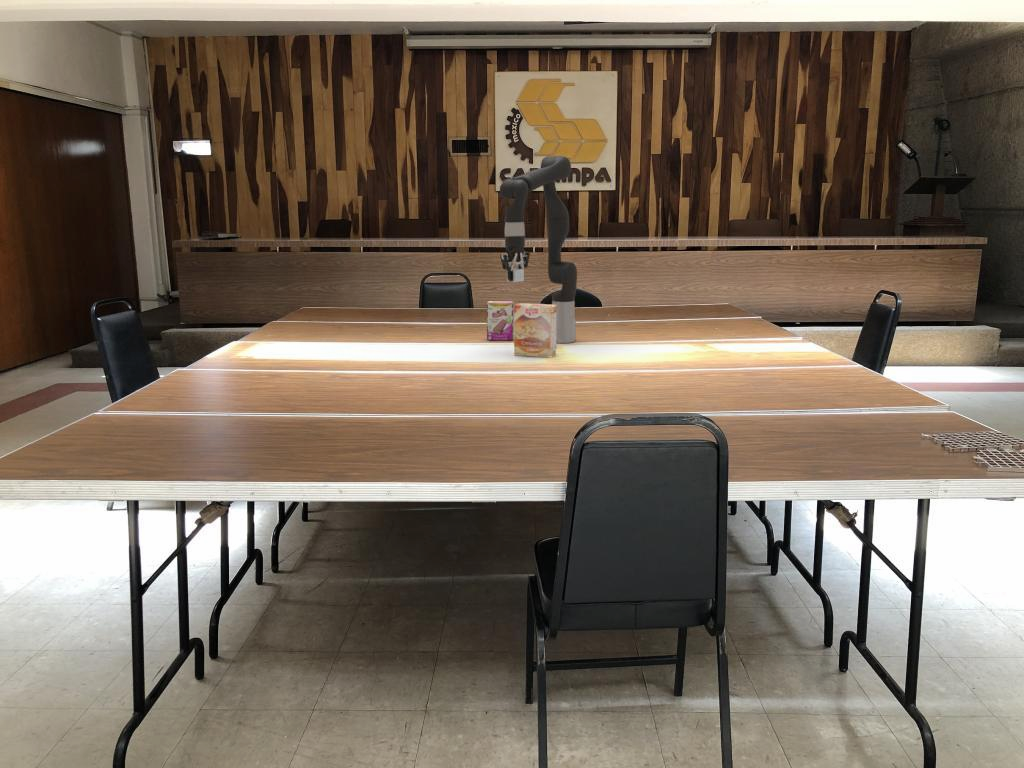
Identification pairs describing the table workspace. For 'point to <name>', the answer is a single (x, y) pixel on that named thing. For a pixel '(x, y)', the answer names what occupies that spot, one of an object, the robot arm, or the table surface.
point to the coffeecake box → (535, 329)
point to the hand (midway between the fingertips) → (515, 280)
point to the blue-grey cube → (517, 275)
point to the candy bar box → (500, 320)
